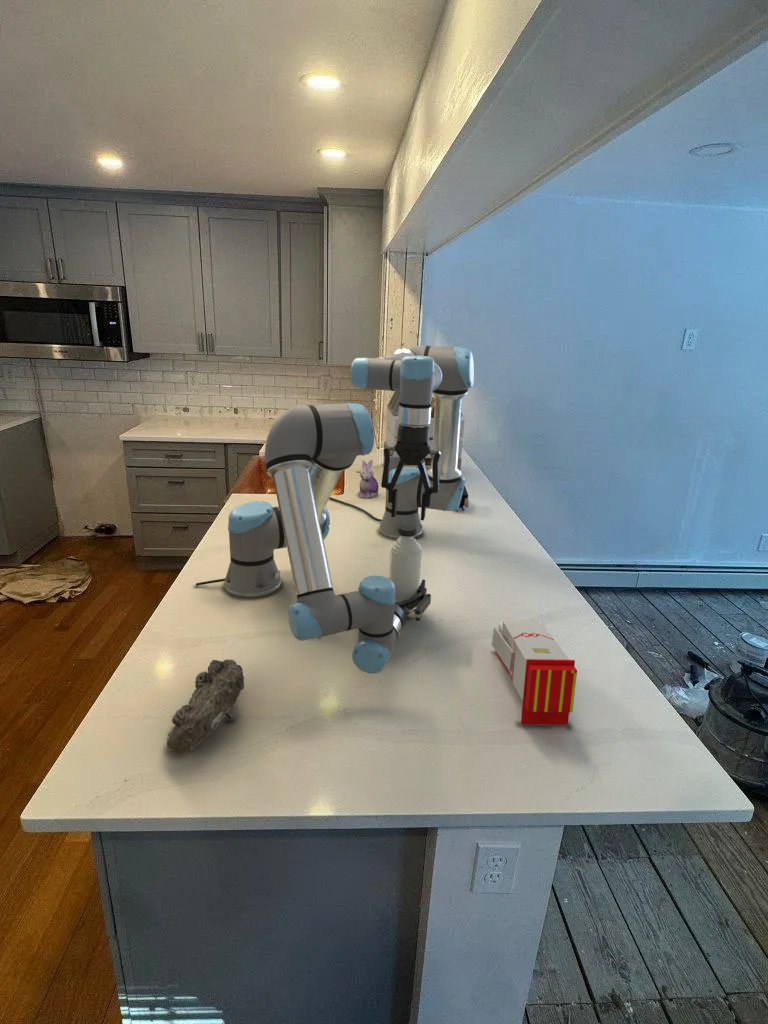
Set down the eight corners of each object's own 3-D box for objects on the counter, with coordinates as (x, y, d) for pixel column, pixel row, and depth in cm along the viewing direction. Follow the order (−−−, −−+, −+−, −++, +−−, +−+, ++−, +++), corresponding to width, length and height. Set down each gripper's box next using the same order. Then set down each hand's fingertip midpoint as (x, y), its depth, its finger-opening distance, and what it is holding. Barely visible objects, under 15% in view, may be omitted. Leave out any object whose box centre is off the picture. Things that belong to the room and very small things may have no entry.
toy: (538, 606, 134) (586, 666, 105) (533, 659, 137) (578, 731, 108) (487, 605, 134) (521, 665, 105) (483, 658, 137) (515, 730, 107)
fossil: (192, 660, 117) (244, 628, 112) (224, 691, 120) (276, 661, 115) (142, 746, 98) (202, 712, 93) (182, 779, 101) (242, 748, 96)
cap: (417, 531, 143) (417, 525, 143) (414, 537, 139) (414, 531, 139) (400, 529, 144) (400, 523, 144) (396, 535, 140) (397, 529, 140)
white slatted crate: (382, 463, 289) (386, 382, 275) (445, 464, 293) (451, 384, 279) (390, 482, 257) (394, 392, 243) (460, 483, 261) (468, 394, 247)
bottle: (419, 606, 152) (425, 525, 144) (414, 620, 145) (420, 536, 137) (391, 601, 154) (395, 521, 146) (384, 615, 146) (388, 532, 138)
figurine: (363, 499, 233) (364, 464, 228) (353, 492, 242) (354, 458, 236) (383, 497, 237) (385, 462, 232) (373, 490, 246) (374, 456, 241)
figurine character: (468, 516, 224) (463, 500, 237) (471, 498, 221) (465, 483, 234) (452, 515, 224) (447, 499, 237) (453, 498, 220) (449, 482, 234)
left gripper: (343, 630, 134) (370, 588, 155) (429, 646, 130) (445, 600, 150) (343, 602, 132) (371, 563, 152) (431, 617, 127) (447, 574, 148)
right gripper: (457, 424, 134) (449, 516, 142) (376, 418, 138) (373, 507, 145) (454, 431, 127) (446, 526, 135) (369, 424, 131) (366, 517, 138)
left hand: (407, 581), depth 151 cm, fingers closed on bottle, 8 cm apart
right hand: (408, 516), depth 140 cm, fingers open, 7 cm apart
